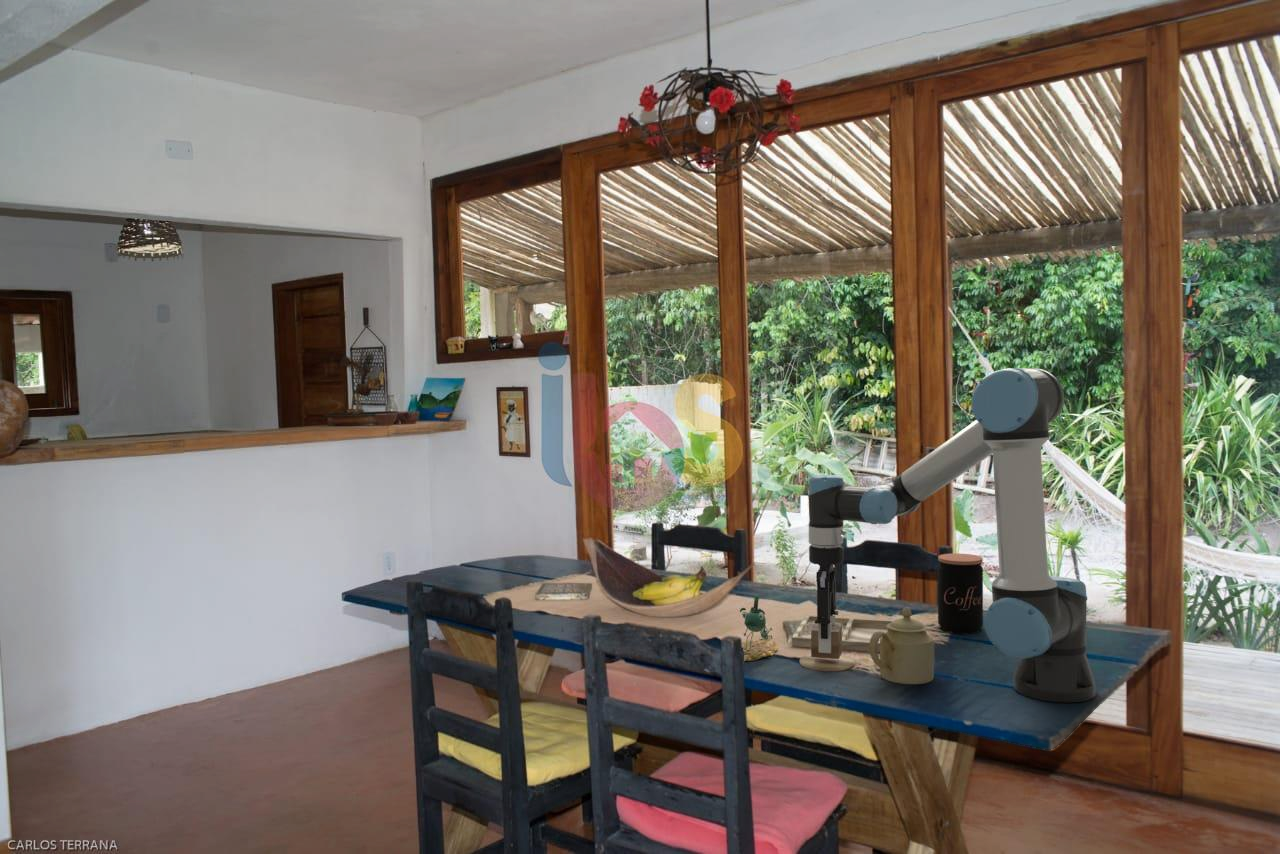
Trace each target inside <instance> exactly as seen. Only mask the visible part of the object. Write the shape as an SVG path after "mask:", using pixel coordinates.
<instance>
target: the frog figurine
mask: <svg viewBox="0 0 1280 854" xmlns="http://www.w3.org/2000/svg"><path fill="white" fill-rule="evenodd" d="M753 597H754V599H753V601H754V602H753V606H751V607H750V610H749V612H746V608H745V607H742V608H740V610H739V613H741V615H742V617H743V619H744V625H745V626H746V630H745V632H744V633H743V636H744V637H746V641H745V642H741V644H743V651H744V662H751V661H758V660H759V659H761V658H763V657H771V656H774V655H775V652H776V651H777V650H778V649H779V645H777V642H776V641H775V638H773V635H772V634H771V635H769V633H770V631H773V629H772V627H770V628H769V630H768V628H767V626H766V612H765V611H764V610H763V609H761V608H759V599H760V597H759V595H758V594H755V595H754V596H753ZM748 631H750V633H749V634H748V635H747V632H748ZM754 633H760V637H759V639H757V640H756V639H755V638H753V636H754ZM750 635H751V637H750ZM748 637H750V638H751V639H750V640H748V639H749V638H748Z"/></svg>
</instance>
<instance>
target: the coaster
mask: <svg viewBox="0 0 1280 854" xmlns="http://www.w3.org/2000/svg"><path fill="white" fill-rule="evenodd" d="M799 664H800V665H801V666H802V667H803V668H806V669H809V670H812V671H813V670H814V671H817V672H841V671H843V672H844V671H849V670H850V669H852V668H855V665H856V663H855V660H854V659H853V658H852V657H849V656H846V655H843V654H841V655H840V658H839V659H831V658H817V657H811V653H809V654H807V655H806V654H805V655H803V656H802V657H800V658H799Z"/></svg>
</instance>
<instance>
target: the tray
mask: <svg viewBox="0 0 1280 854" xmlns="http://www.w3.org/2000/svg"><path fill="white" fill-rule="evenodd" d="M815 620H817V615H810V614H806V615H805V616H804V618H803V619H802V620H801V622H800V624H799V626H798V627H797V629H796V630H795V632H794V633H793V635H792V637H791V646H792V647H800V648H811V638H809V637H802V635H803V632H804V630H805V628H806V626H807V624H808V622H810V621H815ZM894 620H895V619H894ZM894 620H891V619H890V620H889V619H877V618H876V619H875V618H859V617H857V618H856V617H843V616H841V617H840V616H835V622H838V623H842V624H843V625H845V626H846V627H845V629H844V632H843V634H842V651H843V650H844V651H854V652H856V651H857V652H868V653H870V650H869V644H870V639H871V636H872V635H873V634H874V633H875V632H877V631H882V632H885V633H886V632H887V631H888V628H887V625H888V624H889V623H891V622H892V621H894ZM877 653H880V639H879V641H878V644H877Z"/></svg>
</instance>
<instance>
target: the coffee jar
mask: <svg viewBox="0 0 1280 854" xmlns="http://www.w3.org/2000/svg"><path fill="white" fill-rule="evenodd" d="M937 559H938V562H939V564H938V566H937V624H938V625H939V627H940V629H941V630H943V631H945V632H949V633H953V634H954V633H955V634H975V633H978V632H979V631H981V629H982V628H983V625H984V582H983V581H984V568H983V566H982V563H983V561H984V560H983V559H984V557H982V556H980V555H976V554H970V553H969V554H968V553H944V554H943V553H942V554H940V555H938V556H937Z"/></svg>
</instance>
